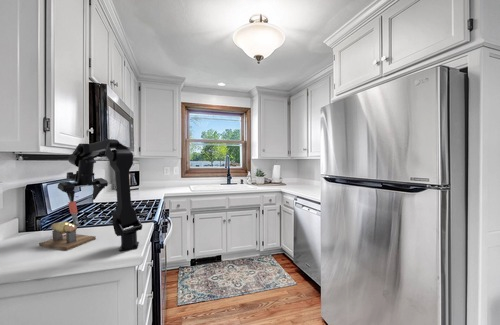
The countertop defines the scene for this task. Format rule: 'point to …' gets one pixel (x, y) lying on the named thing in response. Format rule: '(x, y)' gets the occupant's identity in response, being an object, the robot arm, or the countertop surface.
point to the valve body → (64, 231)
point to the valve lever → (73, 212)
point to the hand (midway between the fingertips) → (82, 201)
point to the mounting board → (66, 246)
